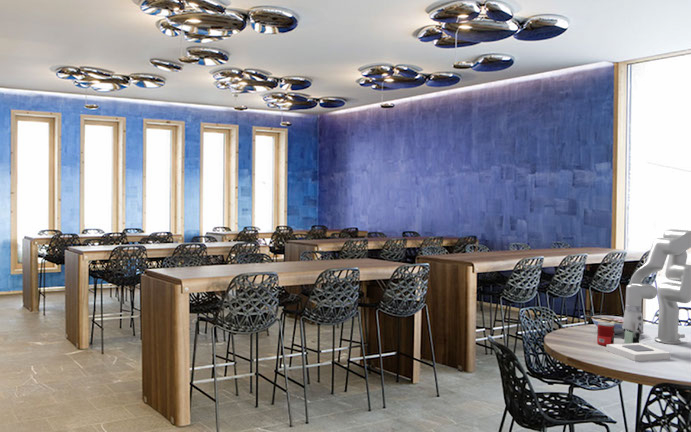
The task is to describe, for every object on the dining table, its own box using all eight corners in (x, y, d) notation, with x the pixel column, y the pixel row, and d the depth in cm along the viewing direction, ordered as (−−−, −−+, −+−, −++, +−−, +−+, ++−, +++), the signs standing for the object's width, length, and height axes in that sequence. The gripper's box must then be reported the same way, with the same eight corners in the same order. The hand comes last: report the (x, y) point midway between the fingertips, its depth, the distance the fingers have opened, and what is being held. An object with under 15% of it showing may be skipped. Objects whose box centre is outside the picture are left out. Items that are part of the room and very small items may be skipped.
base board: (639, 348, 320) (640, 342, 320) (669, 359, 300) (670, 351, 300) (606, 350, 314) (606, 343, 314) (634, 361, 295) (634, 353, 295)
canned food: (615, 346, 323) (616, 325, 322) (598, 345, 324) (599, 324, 324) (611, 343, 330) (612, 322, 330) (595, 342, 332) (596, 321, 331)
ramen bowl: (642, 333, 356) (643, 319, 356) (625, 339, 341) (626, 324, 340) (599, 325, 374) (600, 312, 374) (581, 331, 359) (582, 316, 358)
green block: (632, 344, 330) (633, 330, 329) (639, 346, 325) (639, 332, 325) (624, 344, 328) (624, 331, 328) (631, 346, 324) (631, 333, 323)
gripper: (651, 311, 319) (649, 347, 319) (627, 305, 335) (626, 339, 336) (639, 312, 317) (637, 348, 317) (615, 305, 333) (614, 340, 334)
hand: (631, 343), depth 327 cm, fingers closed on green block, 4 cm apart
